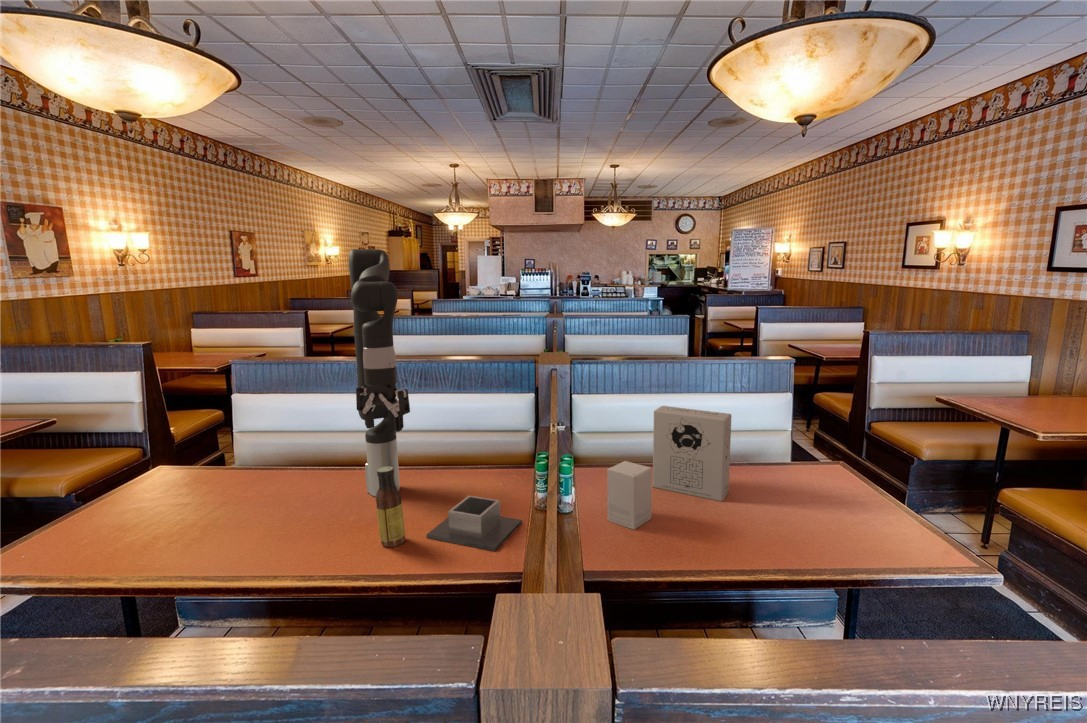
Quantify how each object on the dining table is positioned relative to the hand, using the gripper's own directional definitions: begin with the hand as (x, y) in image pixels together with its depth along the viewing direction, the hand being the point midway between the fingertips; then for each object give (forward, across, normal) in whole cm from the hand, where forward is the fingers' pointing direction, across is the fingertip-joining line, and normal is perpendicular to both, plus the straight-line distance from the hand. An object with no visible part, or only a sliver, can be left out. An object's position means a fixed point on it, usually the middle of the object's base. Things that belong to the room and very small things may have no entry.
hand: (384, 429), depth 132 cm
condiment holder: (+30, +17, +13) cm, 37 cm away
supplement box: (+30, +54, +33) cm, 70 cm away
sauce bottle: (+30, 0, 0) cm, 30 cm away
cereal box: (+30, +67, +59) cm, 94 cm away
